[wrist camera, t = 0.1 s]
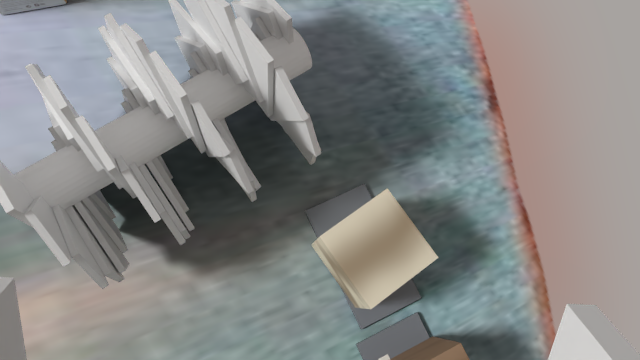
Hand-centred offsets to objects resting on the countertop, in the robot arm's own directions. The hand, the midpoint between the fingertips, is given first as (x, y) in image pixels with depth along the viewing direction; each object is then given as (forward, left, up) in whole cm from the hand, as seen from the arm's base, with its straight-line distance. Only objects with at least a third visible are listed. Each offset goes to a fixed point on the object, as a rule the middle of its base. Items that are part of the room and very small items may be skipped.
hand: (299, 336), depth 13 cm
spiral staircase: (+17, +1, -36) cm, 40 cm away
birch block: (+1, -10, -35) cm, 37 cm away
